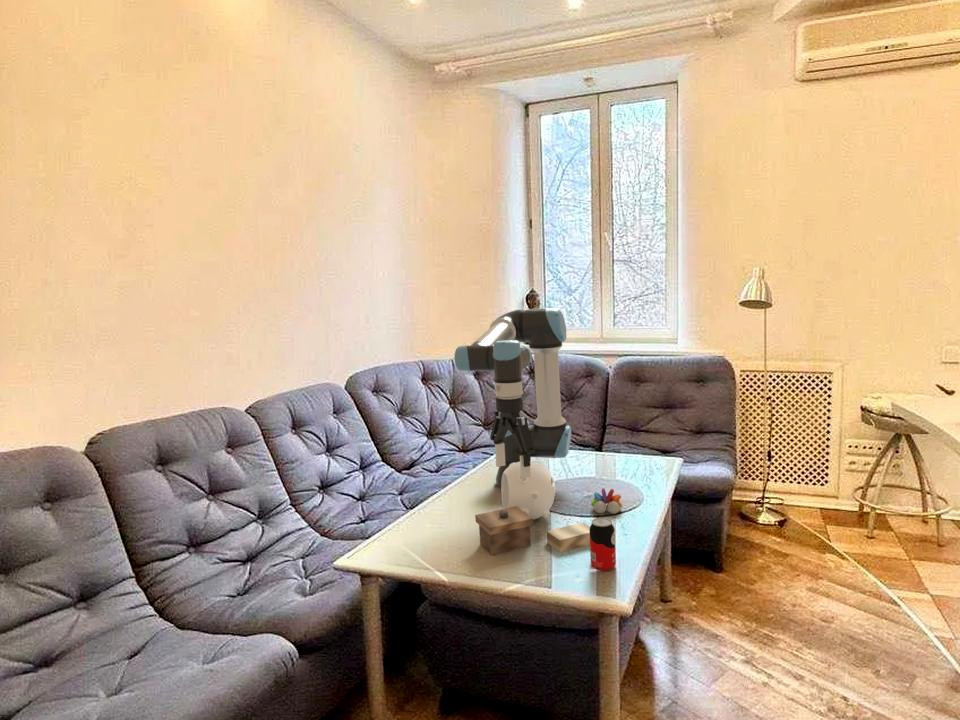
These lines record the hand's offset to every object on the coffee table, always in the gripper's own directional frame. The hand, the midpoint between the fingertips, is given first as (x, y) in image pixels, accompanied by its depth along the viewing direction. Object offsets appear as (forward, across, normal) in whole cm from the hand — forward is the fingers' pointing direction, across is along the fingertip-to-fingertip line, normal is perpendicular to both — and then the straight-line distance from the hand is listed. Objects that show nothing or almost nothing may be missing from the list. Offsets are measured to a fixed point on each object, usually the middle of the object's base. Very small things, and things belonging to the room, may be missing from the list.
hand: (512, 471), depth 165 cm
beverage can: (+22, +23, +12) cm, 34 cm away
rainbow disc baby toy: (+22, -6, +37) cm, 44 cm away
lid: (+15, -1, -3) cm, 15 cm away
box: (+22, -1, -3) cm, 22 cm away
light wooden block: (+22, +8, +13) cm, 27 cm away
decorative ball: (+22, -14, +13) cm, 29 cm away
